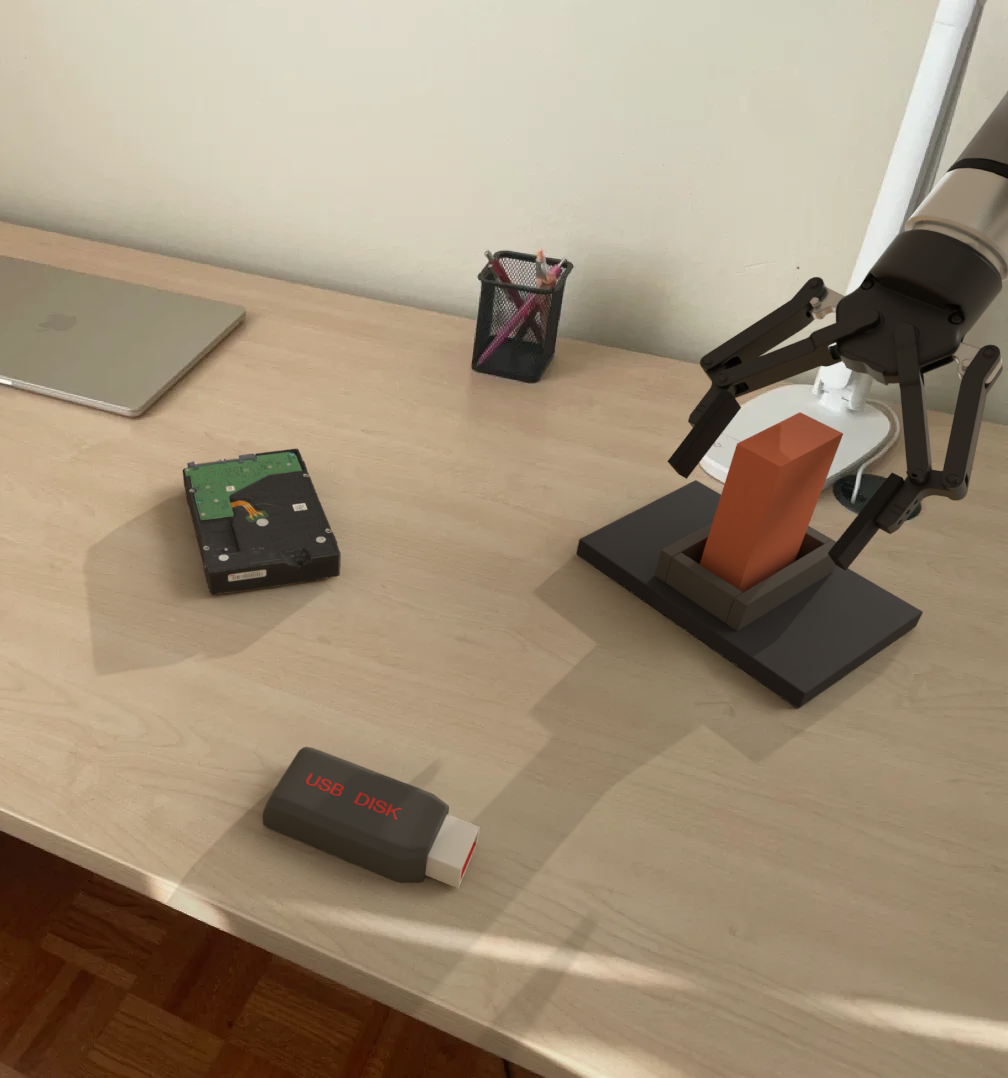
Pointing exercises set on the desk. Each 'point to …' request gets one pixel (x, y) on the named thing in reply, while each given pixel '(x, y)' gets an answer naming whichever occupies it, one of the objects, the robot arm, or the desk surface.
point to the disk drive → (259, 522)
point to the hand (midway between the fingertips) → (751, 514)
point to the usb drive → (370, 820)
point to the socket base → (751, 597)
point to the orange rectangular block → (769, 500)
